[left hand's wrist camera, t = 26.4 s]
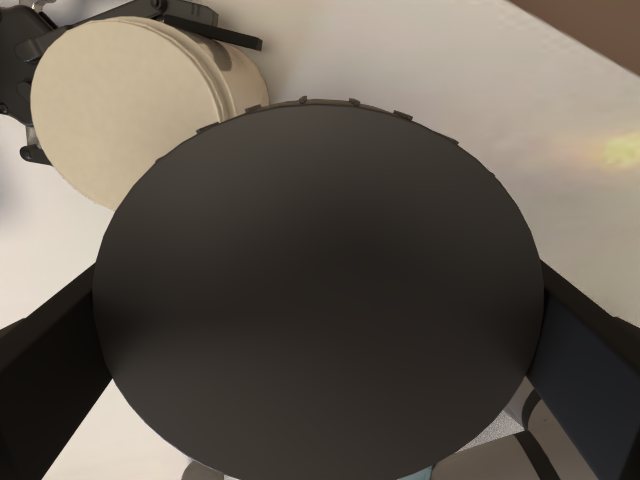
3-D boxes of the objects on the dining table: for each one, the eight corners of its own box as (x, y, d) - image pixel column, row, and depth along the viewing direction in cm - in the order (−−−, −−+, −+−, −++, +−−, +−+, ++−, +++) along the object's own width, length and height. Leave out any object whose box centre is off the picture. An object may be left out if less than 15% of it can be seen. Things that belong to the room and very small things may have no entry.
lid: (213, 456, 15) (194, 523, 13) (61, 162, 11) (-6, 183, 9) (520, 392, 14) (559, 453, 12) (479, 38, 10) (527, 25, 7)
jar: (144, 128, 38) (4, 174, 21) (178, 18, 34) (42, -37, 17) (245, 174, 40) (192, 251, 23) (287, 74, 36) (261, 75, 19)
